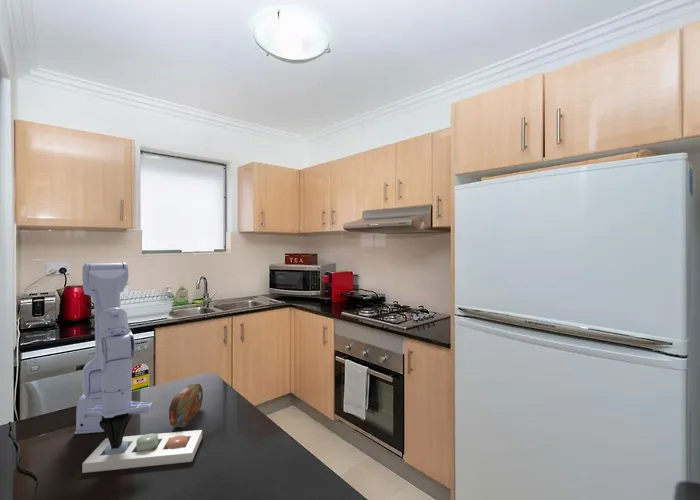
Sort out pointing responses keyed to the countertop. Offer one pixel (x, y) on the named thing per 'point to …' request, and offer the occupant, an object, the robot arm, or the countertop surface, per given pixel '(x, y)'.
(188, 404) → the tin
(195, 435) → the button panel
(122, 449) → the slate button
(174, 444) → the terracotta button
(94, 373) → the robot arm
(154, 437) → the sage button
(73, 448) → the countertop surface
